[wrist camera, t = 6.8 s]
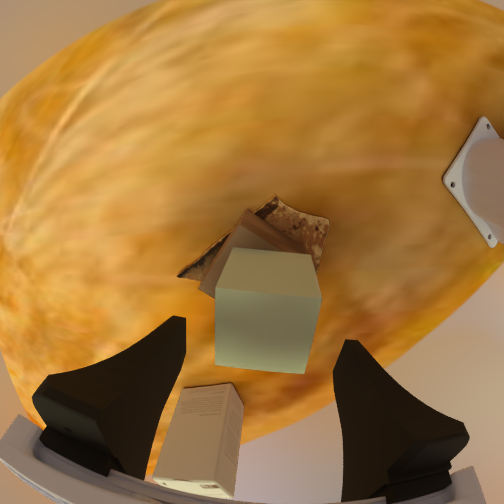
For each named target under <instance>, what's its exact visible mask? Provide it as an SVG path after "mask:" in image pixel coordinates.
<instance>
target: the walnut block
mask: <svg viewBox="0 0 504 504" xmlns="http://www.w3.org/2000/svg"><path fill="white" fill-rule="evenodd" d="M233 247H236V248H247V249H257V250H268V251H278V252H288V253H298V254H306V250H305V247H303V246H302V245H300V244H299V243H297V242H296V241H294V240H293V239H291V238H290V237H288V236H287V235H285V234H284V233H282V232H281V231H279V230H278V229H276V228H275V227H273V226H272V225H270V224H269V223H267V222H266V221H264V220H263V219H261V218H260V217H258V216H256V215H255V214H253V213H252V212H250V211H249V210H247V209H246V211H245V212H244V214H243V215H242V217H241V218H240V220H239V221H238V223H237V224H236V226H235V227H234V229H233V230H232V232H231V233H230V235H229V236H228V238H227V239H226V241H225V242H224V244H223V246H222V247H221V249H220V250H219V252H218V253H217V255H216V256H215V258H214V259H213V261H212V263H211V264H210V266H209V268H208V270H207V272H206V274H205V276H204V278H203V280H202V282H201V284H200V286H199V288H198V289H200V290H201V291H203V292H205V293H206V294H208V295H210V296H211V297H213V298H215V287H216V285H217V283H218V280H219V278H220V276H221V274H222V271H223V269H224V267H225V264H226V262H227V260H228V258H229V255H230V253H231V251H232V249H233Z"/></svg>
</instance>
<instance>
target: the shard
mask: <svg viewBox="0 0 504 504" xmlns="http://www.w3.org/2000/svg"><path fill="white" fill-rule="evenodd" d="M253 214H255V215H256V216H258V217H260V218H261V219H263V220H264V221H266V222H267V223H269V224H270V225H272V226H273V227H275V228H276V229H278V230H279V231H281V232H282V233H284V234H285V235H287V236H288V237H290V238H291V239H293V240H294V241H296V242H297V243H299V244H300V245H302V246H303V247H305V250H306V254H308V255H311V258H312V261H313V265H314V269H315V272H316V276H317V271H318V268H319V261H320V258H321V254H322V250H323V245H324V241H325V239H326V237H327V234H328V231H329V227H330V225H329V220H328V219H326V218H322V217H317V216H312V215H309V214H306V213H302V212H299V211H296V210H294V209H293V208H290V207H288V206H287V205H285V204H283V203H282V202H281V200H280V199H279V198H278V197H277V196H276V195H273V196H272V197H271V198H270V199H269V200H268V201H267V202H266V203H265V204H263V205H262V207H260V208H259V209H258V210H256V211H255V212H253ZM232 230H233V229H232ZM232 230H231V231H230V232H228V233H227V234H226V235H224V236H222V237H221V239H220V240H218V241H217V242H215V243H214V244H213V245H212V246H211V247H209V248H208V249H207V250H206V251H205V252H204V253H203V254H202V255H201V257H200V258H199V259H198V260H197V261H195V262H194V263H193V264H192V265H190V266H189V267H186V268H185V269H184V270H182V271H181V272H180V273H179V274H178V275H177V277H178V278H187V279H191V280H196V281H202V280H203V278H204V276H205V274H206V272H207V270H208V268H209V266H210V264H211V263H212V261H213V259H214V258H215V256H216V255H217V253H218V252H219V250H220V249H221V247H222V246H223V244H224V242H225V241H226V239H227V238H228V236H229V235H230V233H231V232H232Z"/></svg>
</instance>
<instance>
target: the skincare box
mask: <svg viewBox="0 0 504 504" xmlns="http://www.w3.org/2000/svg"><path fill="white" fill-rule="evenodd" d="M243 413H244V405H243V403H242V401H241V399H240V397H239V395H238V393H237V392H236V390H235V388H234V386H233V385H232V384H231V383H228V384H221V385H214V386H205V387H196V388H186V389H182V391H181V394H180V397H179V400H178V403H177V405H176V408H175V411H174V414H173V417H172V420H171V423H170V426H169V428H168V431H167V434H166V437H165V440H164V443H163V446H162V449H161V452H160V455H159V458H158V461H157V464H156V467H155V470H154V473H153V476H152V478H153V479H154V480H155V481H156V482H157V483H159V484H160V485H162V486H164V487H167V488H171V489H175V490H179V491H183V492H188V493H192V494H197V495H202V496H208V497H213V498H233V496H234V489H235V482H236V473H237V464H238V456H239V448H240V439H241V431H242V422H243Z"/></svg>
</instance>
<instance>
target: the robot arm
mask: <svg viewBox="0 0 504 504" xmlns="http://www.w3.org/2000/svg"><path fill="white" fill-rule="evenodd" d="M487 126H488V128H487ZM451 182H452V183H453V185H452V187H451ZM443 183H444V185H445V186H446V187H447V188H448V190H449V191H450V192H451V193H452V195H453V196H454V197H455V198H456V200H457V201H458V202H459V204H460V205H461V206H462V208H463V209H464V210H465V212H466V213H467V214H468V216H469V217H470V219H471V220H472V221H473V223H474V224H475V226H476V227H477V229H478V230H479V232H480V233H481V235H482V236H483V238H484V239H485V241H486V242H487V244H488V246H489V247H491V248H494V247H495V246H496V244H497V243H498V241H499V242H500V243H502V244H504V139H500V137H499V136H498V134H497V133H496V131H495V130H494V128H493V127H492V125H491V124H490V122H489V121H488V119H487V118H486V117H481V118H480V119H479V121H478V122H477V124H476V126H475V128H474V129H473V131H472V133H471V134H470V136H469V138H468V139H467V141H466V143H465V144H464V146H463V147H462V149H461V151H460V152H459V154H458V155H457V157H456V158H455V160H454V161H453V163H452V165H451V166H450V168H449V169H448V171H447V172H446V173H445V175H444V177H443ZM488 235H489V237H488ZM185 354H186V318H184V317H178V316H172V317H170V318H169V319H168V320H166V321H165V322H164V323H163V324H161V325H160V326H159V327H157V328H156V329H155V330H154V331H152V332H151V333H150V334H148V335H147V336H145V337H144V338H143V339H141V340H140V341H138V342H137V343H135V344H134V345H132V346H131V347H129V348H127V349H126V350H124V351H122V352H120V353H118V354H116V355H114V356H112V357H110V358H108V359H106V360H103V361H101V362H98V363H96V364H93V365H90V366H87V367H84V368H81V369H77V370H73V371H69V372H63V373H58V374H52V375H48V376H47V377H46V379H45V380H44V381H43V382H42V384H41V385H40V386H39V388H38V389H37V390H36V391H35V393H34V394H33V396H32V400H33V404H34V406H35V408H36V410H37V411H38V413H39V415H40V416H41V418H42V419H43V421H44V422H45V424H46V425H47V426H46V428H45V429H44V431H43V430H42V429H41V428H40V427H39V426H37V425H36V424H34V423H33V422H31V421H30V420H28V419H27V418H25V417H23V416H22V415H20V414H19V415H18V416H17V417H16V418H15V420H14V421H13V423H12V424H11V425H10V427H9V429H8V430H7V431H6V433H5V434H4V436H3V437H2V438H1V440H0V461H1V462H2V463H3V464H4V465H5V466H6V467H8V468H9V469H10V470H11V471H12V472H13V473H14V474H15V475H16V476H18V477H19V478H20V479H21V480H22V481H24V482H25V483H26V484H28V485H29V486H31V487H32V488H34V489H35V490H37V491H38V492H40V493H41V494H43V495H44V496H46V497H47V498H49V499H51V500H52V501H54V502H55V503H57V504H265V503H252V502H242V501H234V500H226V499H219V498H213V497H208V496H202V495H197V494H192V493H188V492H183V491H179V490H175V489H171V488H167V487H164V486H160V485H157V484H153V483H150V482H147V481H144V479H145V474H146V469H147V464H148V460H149V456H150V452H151V448H152V444H153V440H154V437H155V433H156V430H157V426H158V423H159V420H160V417H161V414H162V411H163V408H164V406H165V404H166V401H167V399H168V397H169V395H170V393H171V391H172V388H173V386H174V384H175V382H176V380H177V377H178V375H179V373H180V371H181V368H182V364H183V361H184V358H185ZM333 384H334V393H335V398H336V403H337V408H338V413H339V418H340V423H341V428H342V436H343V487H342V497H341V502H340V503H328V504H486V502H485V498H484V495H483V492H482V489H481V486H480V483H479V481H478V478H477V475H476V472H475V470H474V467H473V466H470V467H467V468H465V469H462V470H459V471H457V472H454V473H453V474H451V475H450V474H449V471H448V470H450V469H451V467H452V466H451V463H450V461H451V460H452V459H453V458H454V457H455V456H456V455H457V454H458V453H459V452H460V451H461V450H462V449H463V448H464V447H465V446H466V445H467V443H468V441H469V438H470V437H469V434H468V432H467V430H466V428H465V426H464V423H463V422H460V421H458V420H455V419H453V418H451V417H448V416H446V415H444V414H442V413H440V412H438V411H436V410H434V409H433V408H431V407H429V406H427V405H426V404H424V403H423V402H421V401H420V400H418V399H417V398H416V397H414V396H413V395H412V394H410V393H409V392H408V391H407V390H405V389H404V388H403V387H402V386H401V385H399V384H398V383H397V382H396V381H395V380H394V379H393V378H392V377H391V376H390V375H389V374H388V373H387V372H386V371H385V370H384V369H383V368H382V367H381V366H380V364H379V363H378V362H377V361H376V360H375V359H374V358H373V357H372V356H371V354H370V353H369V352H368V351H367V350H366V349H365V348H364V346H363V345H362V344H361V343H360V342H359V341H358V340H347V339H345V342H344V344H343V347H342V350H341V352H340V355H339V357H338V360H337V362H336V365H335V367H334V369H333Z"/></svg>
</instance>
